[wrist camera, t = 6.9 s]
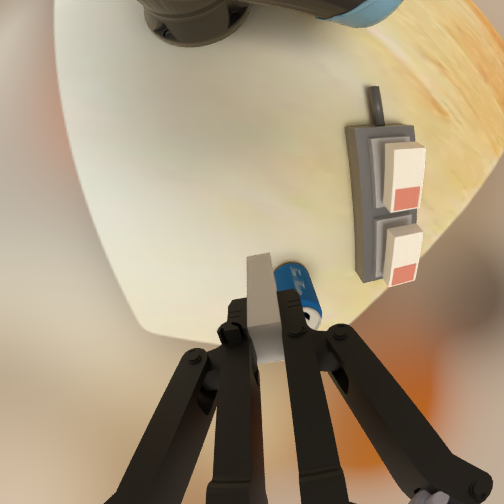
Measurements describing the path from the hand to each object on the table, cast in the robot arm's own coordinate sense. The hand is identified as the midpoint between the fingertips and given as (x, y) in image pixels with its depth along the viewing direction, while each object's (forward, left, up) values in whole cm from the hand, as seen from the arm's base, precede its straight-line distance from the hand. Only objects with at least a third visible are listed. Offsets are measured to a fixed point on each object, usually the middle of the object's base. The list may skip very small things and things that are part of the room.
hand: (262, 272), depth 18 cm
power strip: (+3, +20, -24) cm, 32 cm away
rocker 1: (0, +20, -17) cm, 27 cm away
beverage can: (+17, +3, -25) cm, 30 cm away
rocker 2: (+12, +20, -17) cm, 29 cm away
